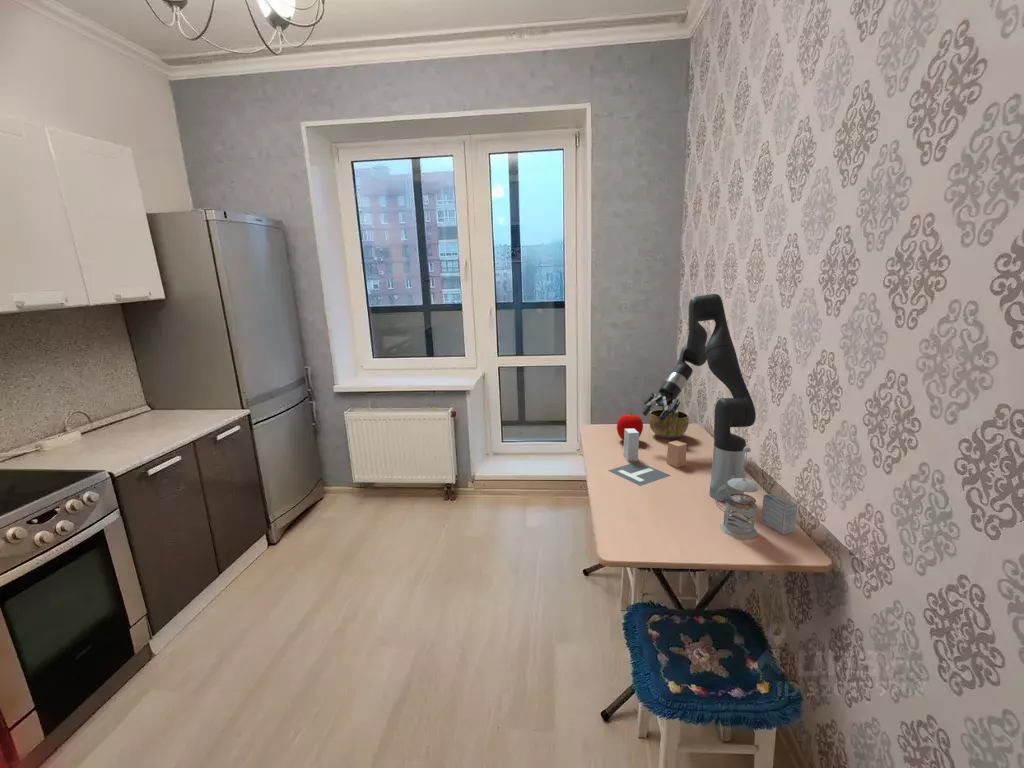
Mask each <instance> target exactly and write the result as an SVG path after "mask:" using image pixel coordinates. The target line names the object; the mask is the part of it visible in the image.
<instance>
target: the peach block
mask: <svg viewBox="0 0 1024 768" xmlns="http://www.w3.org/2000/svg"><path fill="white" fill-rule="evenodd" d="M687 447H688V443H686V442H683V441H680V440H673V441H669V442H668V443H667V458H666V464H667V465H670V466H671V467H674V468H676V469H677V468H680V467H684V466H686V461H687Z"/></svg>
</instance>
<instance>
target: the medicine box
mask: <svg viewBox="0 0 1024 768" xmlns="http://www.w3.org/2000/svg"><path fill="white" fill-rule="evenodd" d="M797 512H798V504H797V503H795V502H794V501H792V500H790V499H787V498H786V497H784V496H782V495H780V494H778V493H775V492H774V493H767V494H763V499H762V509H761V517H760V518H761V519H760V522H761V523H763V524H765V525H766V526H768V527H770V528H771V529H772V530H775V531H776V532H778V533H780V535H787V534H791V533H795V529H796V522H797Z"/></svg>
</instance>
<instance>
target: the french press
mask: <svg viewBox="0 0 1024 768" xmlns="http://www.w3.org/2000/svg"><path fill="white" fill-rule="evenodd" d="M743 451H745V458H744V468H743V471H744V477H745V478H734V479H731V480H729V481H728V485H729V486H730V487H731V488H733V489H735V490H738V491H742V493H731V494H729V495H728V499H727V501H726V502H725V504H726V505H725V507H723V506H722V505H721V504H720V503H719V500H717V494H718V492H719V491H720V490H722V489H725V488H726V487H725V486H727V485H725V486H722V487H725V488H722V487H720V488H719V489H718V491H717V493H716V499H715V504H716V506H717V507H718V509H719V510H721V511H722V512H723V513H724V515H723V521H722V522H721V524H719V528H720V529H721V531H722V532H723V533H724V534H727V535H728V536H731V537H734V538H737V539H738V538H739V539H743V540H746V539H748V540H749V539H753V538H756V537H757V536H758V535H759V534H758V530H757V529H756V528H755V523H756V516H757V515H756V514H757V504H756V502H757V500H756V499H755V498H754V497H753V496H752V495H749V494H746V493H757V492H758V491H759V489H760V485H758V484H757V483H756V482H754V481H753V480H751V479H748V478H746V476H745V472H746V466H747V456H748V453H751V451H752V449H751V448H750V447H749V446H746V447H744V449H743ZM721 488H722V489H721ZM726 489H727V492H728V486H727V488H726ZM743 492H744V494H743ZM731 502H734V503H731ZM742 507H743V508H742ZM748 507H749V508H750V509H749V508H748Z"/></svg>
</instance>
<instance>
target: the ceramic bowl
mask: <svg viewBox="0 0 1024 768" xmlns="http://www.w3.org/2000/svg"><path fill="white" fill-rule="evenodd" d="M671 405H672V404H670V407H671ZM663 411H665V408H664V407H662V408H661V409H660V408H659V409H653V410H650V411H649V415H648V424H649V427H650V430H651V431H652V432H653V433H654V434H656V435H657V436H658V437H660V438H663V439H666V440H667V439H668V440H674V439H677V438H680V437H682V436H683V435H684V434H685V433H686V431H687V429H688V427H689V424H690V422H689V421H690V415H689V414H688V413H687V412H684V411H682V410H676V411H675V413H674V414H672V413H670V414H668V415H667V417H666V418H665V420H663V421H661V420H660V419H659V417H660V415H661V414H662V412H663Z"/></svg>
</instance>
